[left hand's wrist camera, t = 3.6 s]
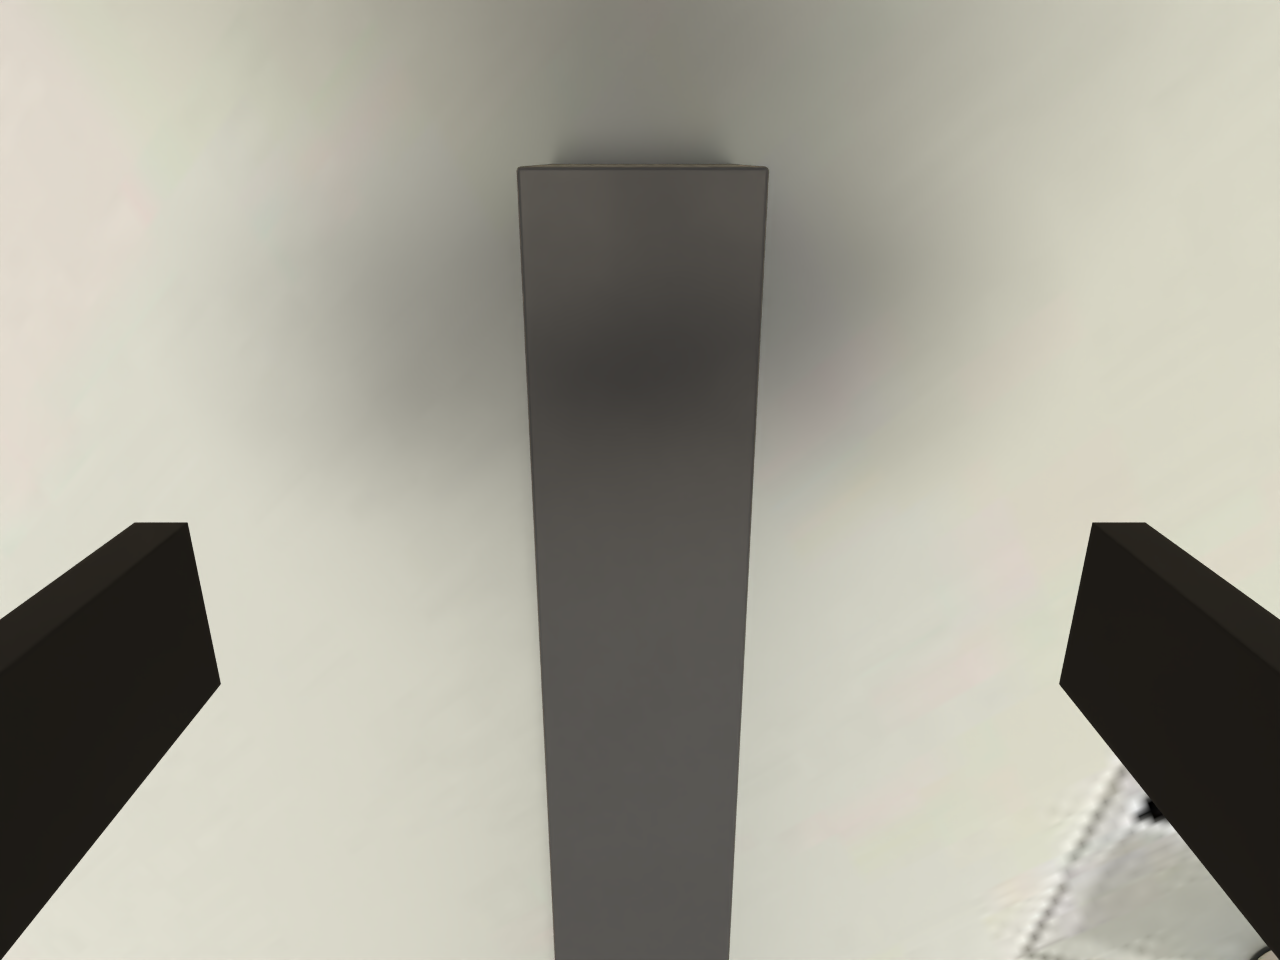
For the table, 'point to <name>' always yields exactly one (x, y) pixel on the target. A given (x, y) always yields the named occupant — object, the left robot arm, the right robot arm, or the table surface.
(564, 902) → the bar
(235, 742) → the table surface
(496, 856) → the table surface
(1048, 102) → the table surface
